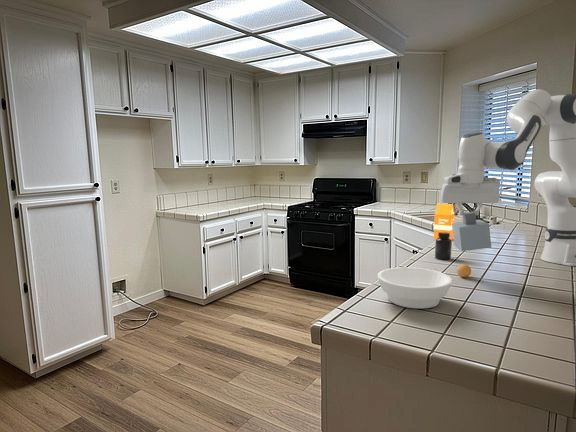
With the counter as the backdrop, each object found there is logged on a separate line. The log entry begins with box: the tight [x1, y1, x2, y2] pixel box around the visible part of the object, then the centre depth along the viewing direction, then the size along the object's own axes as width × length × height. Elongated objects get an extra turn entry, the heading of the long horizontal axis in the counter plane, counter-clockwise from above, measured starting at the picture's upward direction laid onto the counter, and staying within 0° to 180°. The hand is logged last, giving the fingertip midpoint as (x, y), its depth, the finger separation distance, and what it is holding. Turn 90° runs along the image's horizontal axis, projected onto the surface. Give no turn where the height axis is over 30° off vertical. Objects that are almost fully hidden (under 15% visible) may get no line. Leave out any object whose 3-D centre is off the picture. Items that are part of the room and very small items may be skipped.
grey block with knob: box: [452, 211, 492, 252], centre depth 148 cm, size 10×10×13 cm
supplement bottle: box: [434, 232, 453, 261], centre depth 179 cm, size 7×7×12 cm
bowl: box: [377, 266, 453, 309], centre depth 126 cm, size 22×22×8 cm
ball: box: [456, 263, 472, 278], centre depth 151 cm, size 5×5×5 cm
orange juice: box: [433, 203, 455, 241], centre depth 222 cm, size 8×9×20 cm
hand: (468, 215), depth 147 cm, fingers closed on grey block with knob, 4 cm apart
